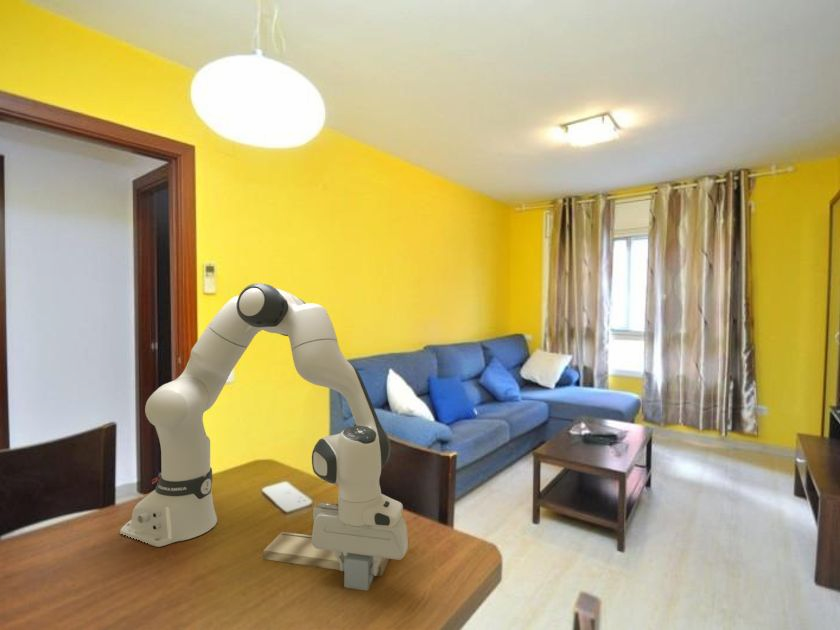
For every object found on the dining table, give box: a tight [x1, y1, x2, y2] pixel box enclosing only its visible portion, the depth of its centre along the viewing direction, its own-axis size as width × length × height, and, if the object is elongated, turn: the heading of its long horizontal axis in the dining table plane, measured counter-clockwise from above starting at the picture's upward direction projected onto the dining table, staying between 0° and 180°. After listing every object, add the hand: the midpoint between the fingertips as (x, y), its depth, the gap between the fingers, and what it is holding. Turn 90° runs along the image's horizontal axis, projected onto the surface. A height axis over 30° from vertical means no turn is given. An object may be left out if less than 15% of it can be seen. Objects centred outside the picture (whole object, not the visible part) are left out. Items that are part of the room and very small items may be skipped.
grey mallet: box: [343, 553, 374, 592], centre depth 92 cm, size 5×12×6 cm, turn 169°
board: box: [263, 531, 390, 577], centre depth 97 cm, size 28×8×2 cm, turn 79°
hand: (359, 571), depth 88 cm, fingers closed on grey mallet, 5 cm apart
